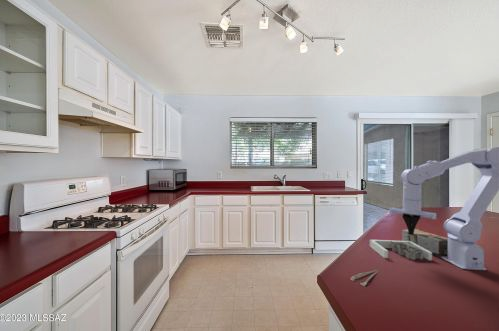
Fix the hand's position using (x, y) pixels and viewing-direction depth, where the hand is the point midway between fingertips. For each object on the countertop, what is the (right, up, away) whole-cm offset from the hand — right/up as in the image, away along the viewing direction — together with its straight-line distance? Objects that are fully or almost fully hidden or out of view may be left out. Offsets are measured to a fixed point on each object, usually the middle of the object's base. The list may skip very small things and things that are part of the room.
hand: (411, 234), depth 83 cm
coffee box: (+12, -6, +17) cm, 22 cm away
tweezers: (-24, -10, -13) cm, 29 cm away
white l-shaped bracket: (-2, -9, +4) cm, 10 cm away
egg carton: (+1, -10, +4) cm, 11 cm away
